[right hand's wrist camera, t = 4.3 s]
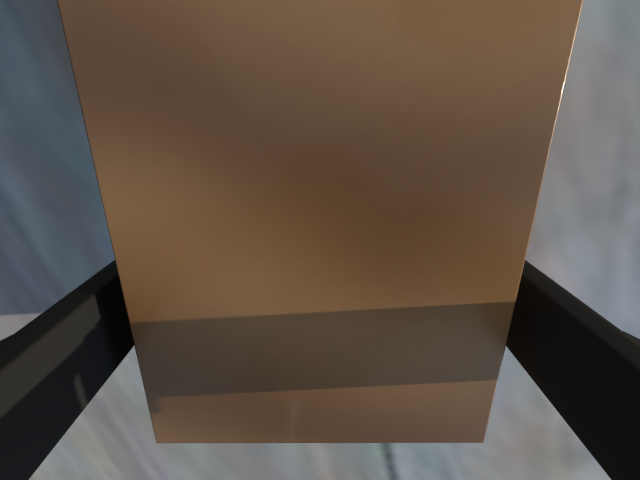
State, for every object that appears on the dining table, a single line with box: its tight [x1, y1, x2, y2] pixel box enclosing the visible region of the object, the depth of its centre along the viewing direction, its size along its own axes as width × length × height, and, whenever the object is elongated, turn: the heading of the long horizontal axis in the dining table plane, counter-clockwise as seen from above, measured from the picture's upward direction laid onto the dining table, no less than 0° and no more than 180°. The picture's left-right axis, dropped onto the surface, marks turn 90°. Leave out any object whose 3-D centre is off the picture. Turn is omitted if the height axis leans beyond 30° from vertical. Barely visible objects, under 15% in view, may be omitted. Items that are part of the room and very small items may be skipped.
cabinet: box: [57, 0, 583, 443], centre depth 13 cm, size 20×11×10 cm, turn 0°
